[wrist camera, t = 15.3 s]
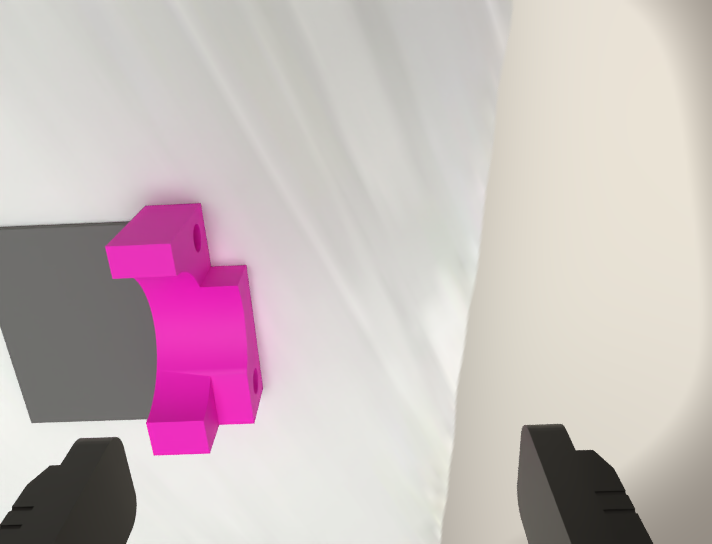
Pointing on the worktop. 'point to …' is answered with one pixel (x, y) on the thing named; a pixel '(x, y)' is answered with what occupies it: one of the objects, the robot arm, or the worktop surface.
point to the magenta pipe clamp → (191, 328)
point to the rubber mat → (75, 325)
